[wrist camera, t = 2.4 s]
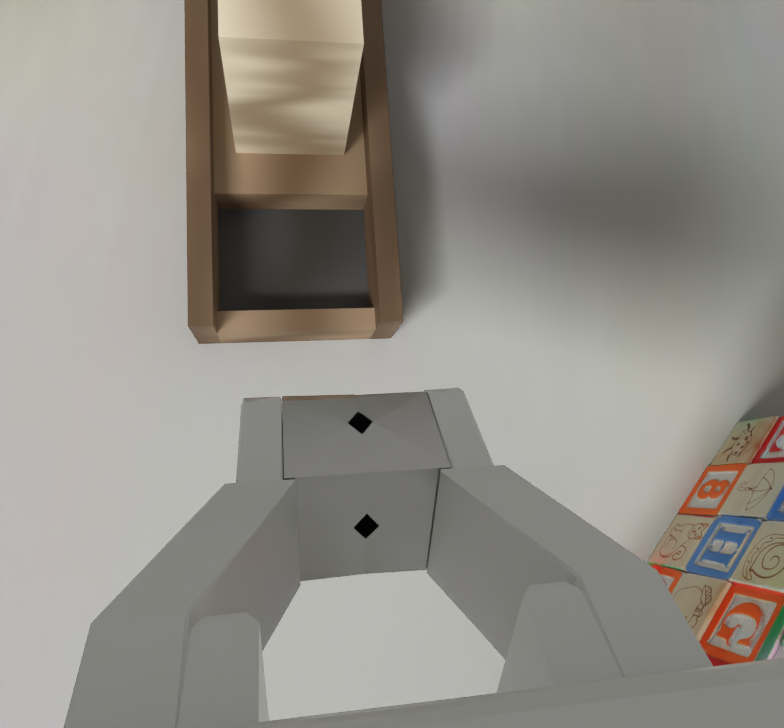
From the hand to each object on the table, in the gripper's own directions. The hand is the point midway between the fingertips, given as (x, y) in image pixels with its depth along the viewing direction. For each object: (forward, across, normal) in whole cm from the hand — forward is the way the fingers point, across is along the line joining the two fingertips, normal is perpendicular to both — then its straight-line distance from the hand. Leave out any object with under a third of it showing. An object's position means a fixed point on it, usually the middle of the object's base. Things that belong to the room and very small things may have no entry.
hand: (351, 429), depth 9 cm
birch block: (+26, 0, +2) cm, 26 cm away
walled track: (+28, 0, +2) cm, 28 cm away
